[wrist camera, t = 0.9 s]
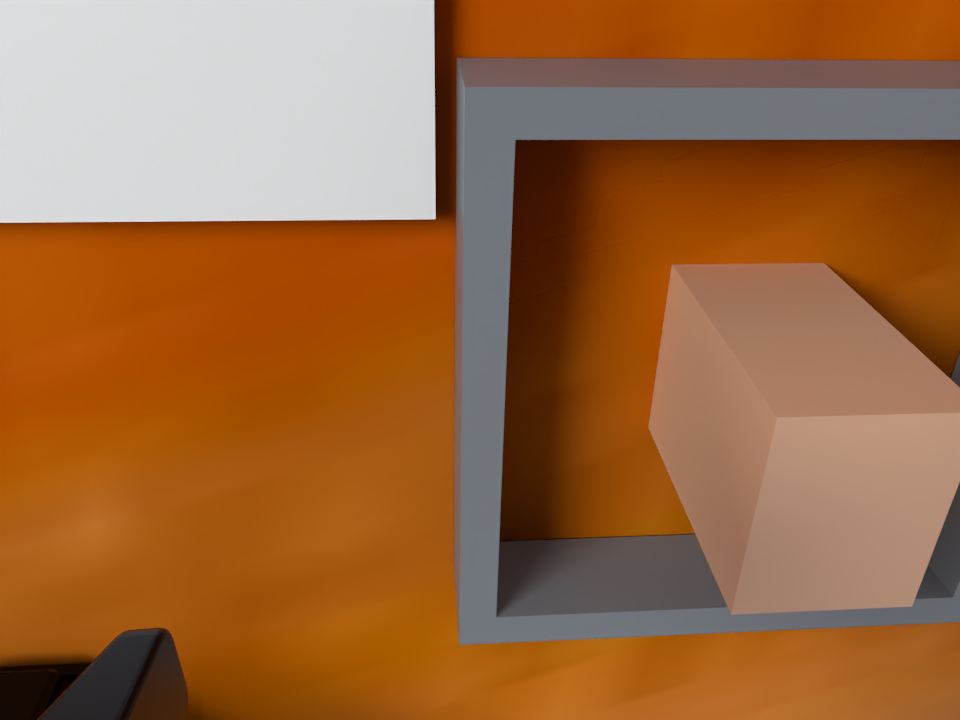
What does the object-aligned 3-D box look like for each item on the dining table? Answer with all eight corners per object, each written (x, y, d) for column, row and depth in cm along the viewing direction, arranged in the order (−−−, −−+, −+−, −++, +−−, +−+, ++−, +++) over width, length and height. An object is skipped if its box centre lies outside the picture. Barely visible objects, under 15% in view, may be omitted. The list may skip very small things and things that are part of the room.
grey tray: (921, 549, 27) (975, 621, 24) (454, 567, 26) (459, 644, 23) (1101, 61, 19) (1208, 89, 17) (456, 57, 18) (464, 86, 16)
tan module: (784, 423, 24) (912, 606, 18) (648, 427, 24) (730, 614, 18) (823, 262, 22) (985, 411, 16) (672, 264, 21) (777, 417, 15)
